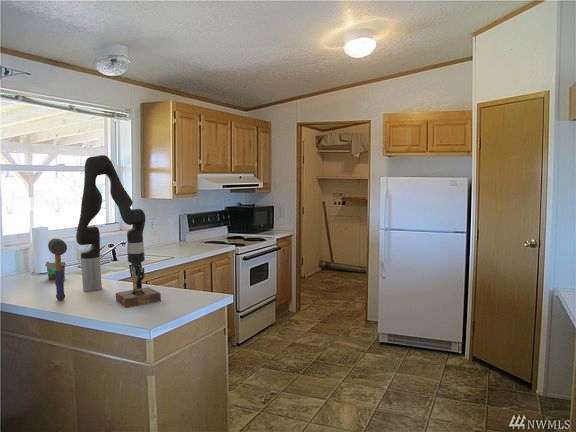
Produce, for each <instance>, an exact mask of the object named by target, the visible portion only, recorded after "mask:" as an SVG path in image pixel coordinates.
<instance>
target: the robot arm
mask: <svg viewBox="0 0 576 432" xmlns="http://www.w3.org/2000/svg"><path fill="white" fill-rule="evenodd" d="M102 175H103V176H104V175H105V176H107V178H108V180H109V183H110V184H109V187H110V189H109V193H110V196H111V198H112V200H113V202H114V203H115V205H116V206H117V208H118V210H119V214H120V216H121V220H122V221H123V222H124V224H126V225H127V226H132V228H131V229H129V230H128V231H126V237H127V238H126V240H127V246H126V249H127V250H126V251H127V253H126V254H127V262H128V263H131V264H129V265H128V266H129V273H130V277H131V279H132V280H133V276H132V271H134V274H135V276H136V280H137V281H136V282H137V288H138V289H140V288H143V282H142V281H144V279H145V268H144V267H143V265H142V263H143V262H144V261H145V246H144V236H143V234H144V229H145V225H146V224H145V223H146V214H145V212H144V210H142V209H141V208H134V209H132V208H131V206H133V202H134V201H133V199H132V198H131V196H130V195H129V194H128V192H127V190H126V189H125V187H124V186H123V184H122V181H121V179H120V178H119V175H118V172H117V171H116V168H115V166H114V164H113V162H112V160H111V159H110V158H109V156H107V155H105V154H101V155H100V154H99V155H95V156H94V155H93V156H90V157H87V158H86V160H85V163H84V178H83V179H84V180H83V181H84V183H83V191H82V198H81V205H80V206H81V207H80V215H79V221H78V225H77V228H76V234H75V238H76V243H77V244H78V245H79V246H89V245H90V247H89V248H87V249H85V250H84V251H82V252H81V253H80V261H81V262H80V263H81V276H82V291H83V292H94V291H100V290H102V288H103V286H102V285H103V283H102V268H101V267H102V266H101V233H100V232H101V231H100V230H99V227H97V226H95V225H93V226H89V224H90V223H91V222H92V221H93V219H94V218H95V217H96V216H97V215H98V214H99V213H100V211H101V209H102V203H103V196H102V193H101V191H100V190H99V188H98V187H97V183H96V182H97V177H98V176H102ZM136 273H138V274H136Z"/></svg>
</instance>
